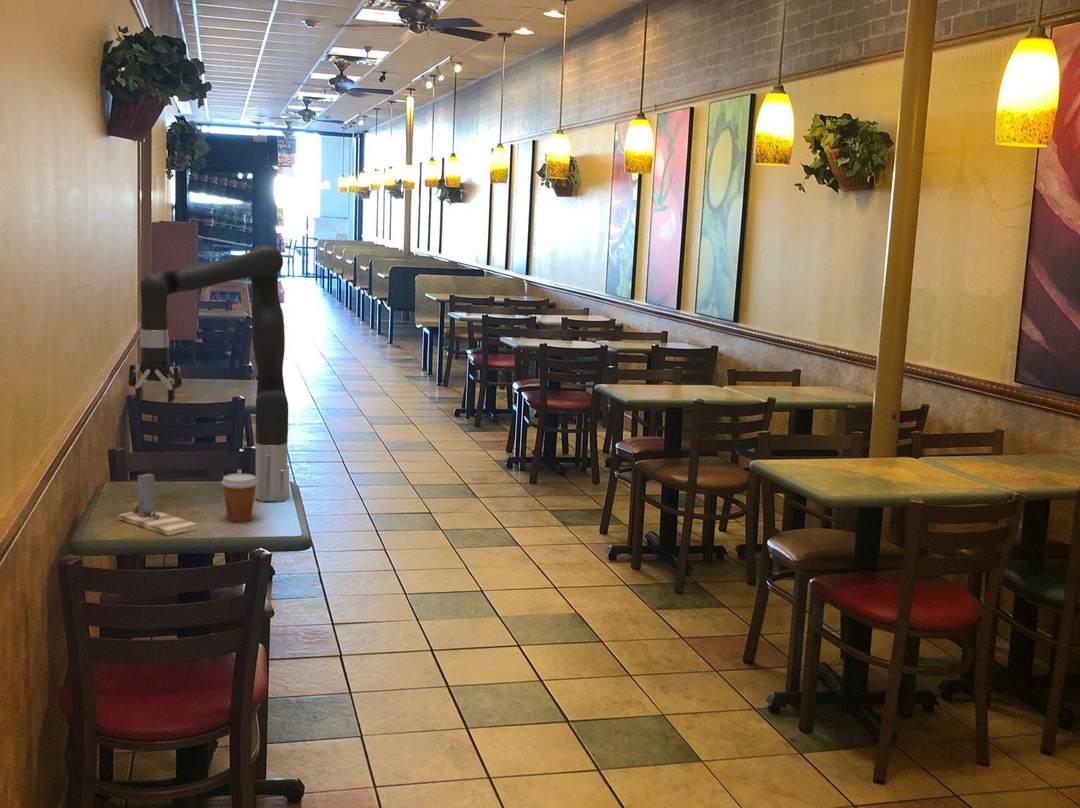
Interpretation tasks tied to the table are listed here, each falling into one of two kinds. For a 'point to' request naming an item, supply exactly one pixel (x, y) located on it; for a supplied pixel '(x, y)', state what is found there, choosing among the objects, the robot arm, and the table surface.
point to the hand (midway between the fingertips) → (155, 401)
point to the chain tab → (146, 496)
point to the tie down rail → (158, 522)
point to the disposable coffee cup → (239, 496)
